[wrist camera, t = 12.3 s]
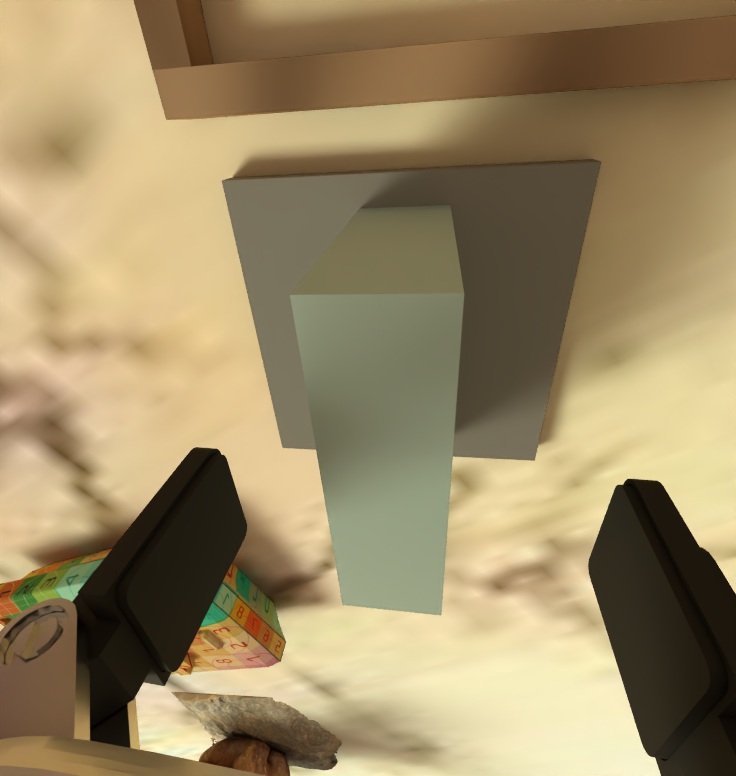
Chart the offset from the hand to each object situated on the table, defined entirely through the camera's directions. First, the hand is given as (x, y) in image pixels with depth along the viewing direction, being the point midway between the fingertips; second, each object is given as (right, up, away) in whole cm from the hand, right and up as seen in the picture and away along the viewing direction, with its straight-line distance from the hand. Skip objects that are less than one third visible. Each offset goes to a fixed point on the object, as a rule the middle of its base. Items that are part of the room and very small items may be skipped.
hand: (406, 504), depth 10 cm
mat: (+1, +5, +7) cm, 9 cm away
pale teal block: (+1, +5, +6) cm, 8 cm away
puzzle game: (-18, -12, +22) cm, 31 cm away
